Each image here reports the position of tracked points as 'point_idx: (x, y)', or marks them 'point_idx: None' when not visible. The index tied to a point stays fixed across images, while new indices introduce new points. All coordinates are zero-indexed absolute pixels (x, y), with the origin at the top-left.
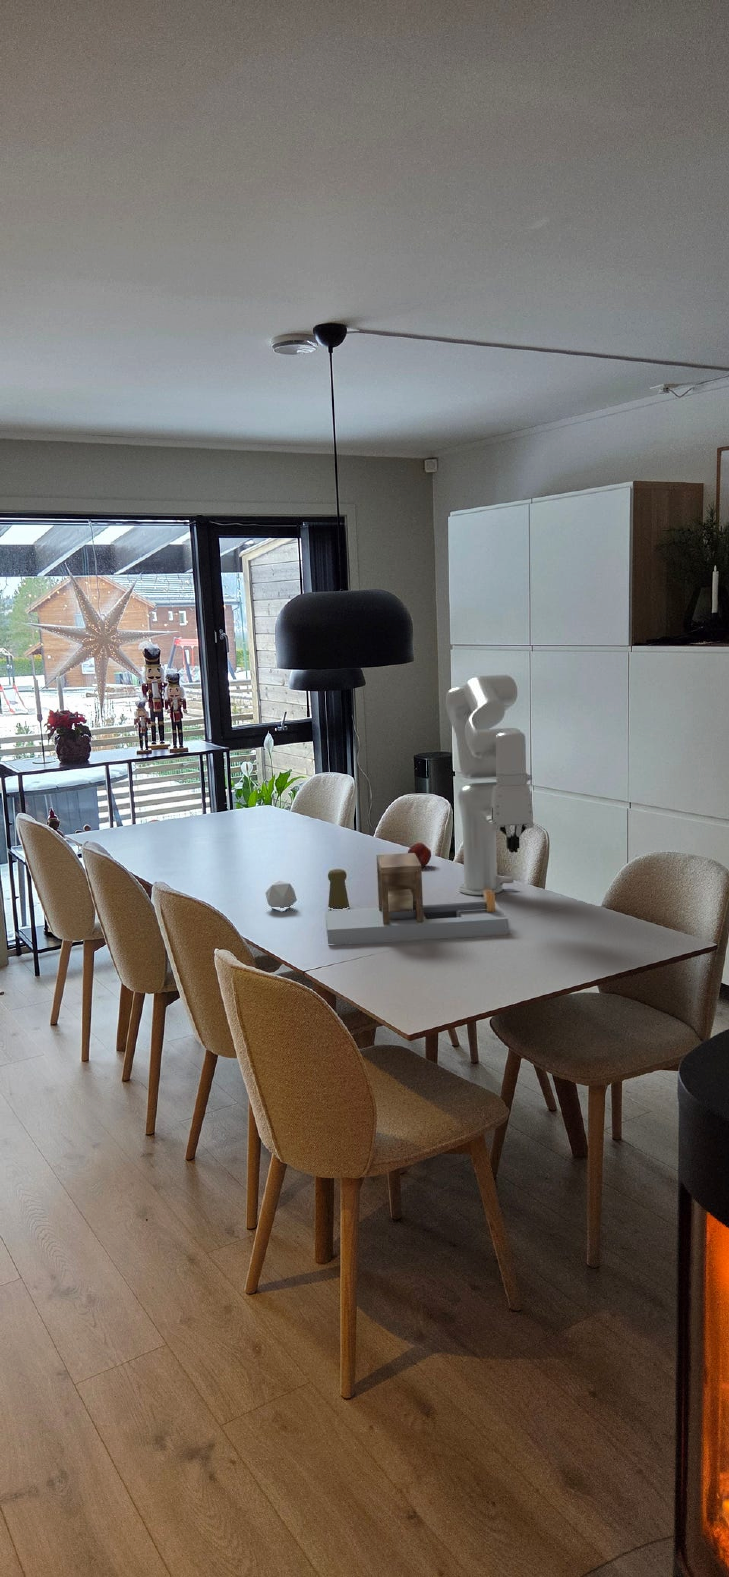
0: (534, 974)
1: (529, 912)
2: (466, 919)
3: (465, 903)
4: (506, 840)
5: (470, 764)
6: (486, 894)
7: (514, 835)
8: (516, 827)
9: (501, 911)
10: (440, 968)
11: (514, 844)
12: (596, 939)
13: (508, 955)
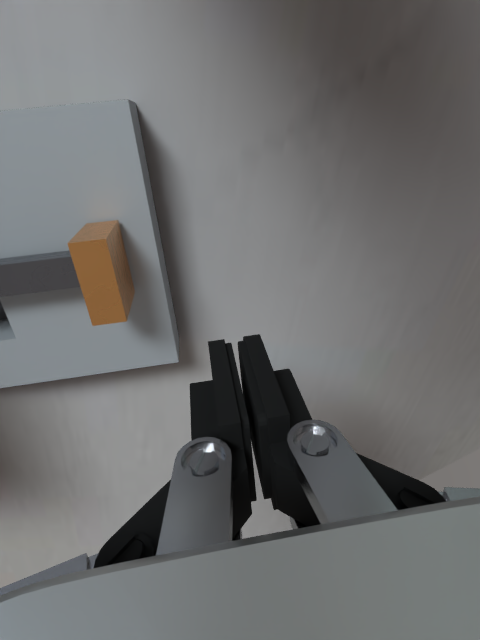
0: None
1: (275, 79)
2: (39, 364)
3: (3, 277)
4: (191, 425)
5: None
6: (90, 316)
7: (274, 494)
8: (337, 512)
9: (158, 280)
10: (31, 536)
11: (253, 449)
12: (383, 381)
13: (172, 472)
